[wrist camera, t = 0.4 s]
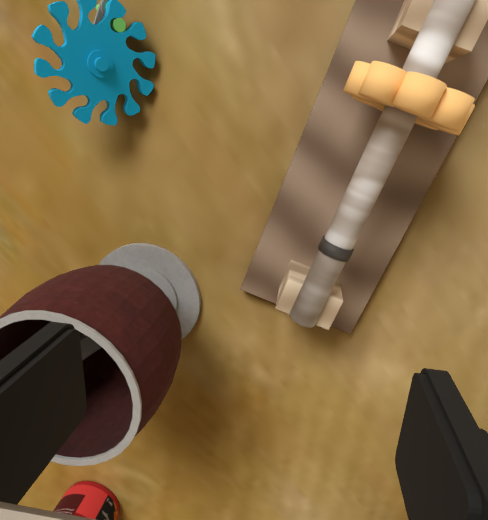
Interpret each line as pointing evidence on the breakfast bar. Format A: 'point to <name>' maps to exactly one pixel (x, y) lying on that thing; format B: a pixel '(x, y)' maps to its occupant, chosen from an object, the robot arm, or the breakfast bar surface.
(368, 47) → the pipe stand
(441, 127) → the tan lobed rosette
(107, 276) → the mate gourd
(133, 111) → the gear
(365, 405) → the breakfast bar surface
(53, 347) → the robot arm
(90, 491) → the canned food
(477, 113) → the breakfast bar surface
